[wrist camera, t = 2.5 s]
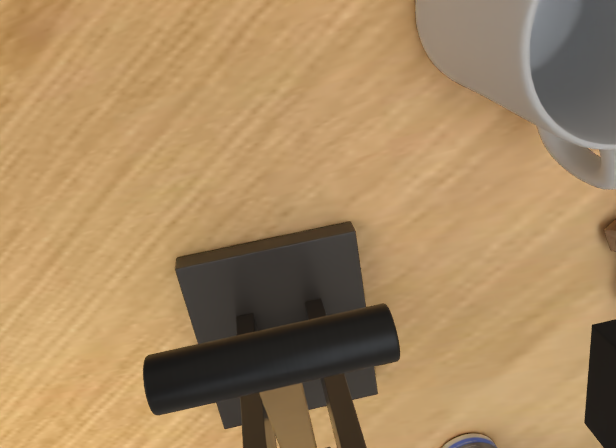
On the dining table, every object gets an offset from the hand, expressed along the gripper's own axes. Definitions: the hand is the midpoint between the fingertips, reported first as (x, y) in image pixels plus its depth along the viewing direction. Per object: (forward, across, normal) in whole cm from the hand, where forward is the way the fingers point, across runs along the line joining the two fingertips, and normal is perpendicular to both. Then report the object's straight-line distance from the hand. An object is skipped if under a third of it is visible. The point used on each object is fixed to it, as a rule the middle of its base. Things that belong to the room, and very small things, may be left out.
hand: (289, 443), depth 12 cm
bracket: (+20, 0, -12) cm, 23 cm away
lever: (+7, 0, -6) cm, 9 cm away
